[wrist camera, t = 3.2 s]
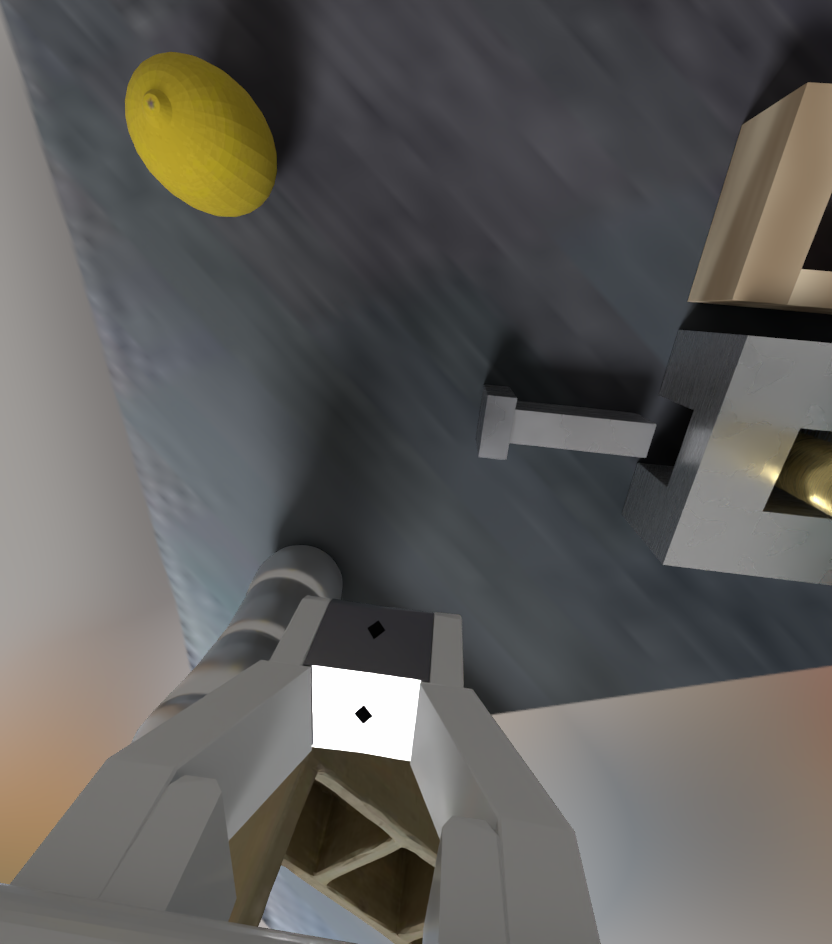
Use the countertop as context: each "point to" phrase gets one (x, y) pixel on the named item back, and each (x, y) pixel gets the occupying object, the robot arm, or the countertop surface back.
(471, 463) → the countertop surface
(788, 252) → the block
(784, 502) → the socket block
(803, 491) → the brass rounded peg
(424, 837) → the caddy
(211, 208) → the lemon
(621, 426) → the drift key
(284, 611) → the plastic bottle
